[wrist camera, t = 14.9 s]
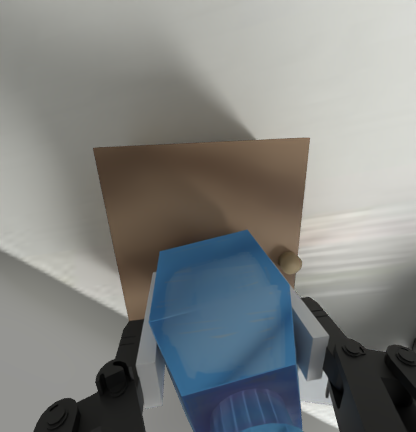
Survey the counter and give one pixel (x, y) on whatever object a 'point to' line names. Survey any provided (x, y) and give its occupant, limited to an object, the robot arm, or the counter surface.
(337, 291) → the counter surface
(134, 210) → the lid
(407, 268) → the counter surface
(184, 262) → the perfume bottle
